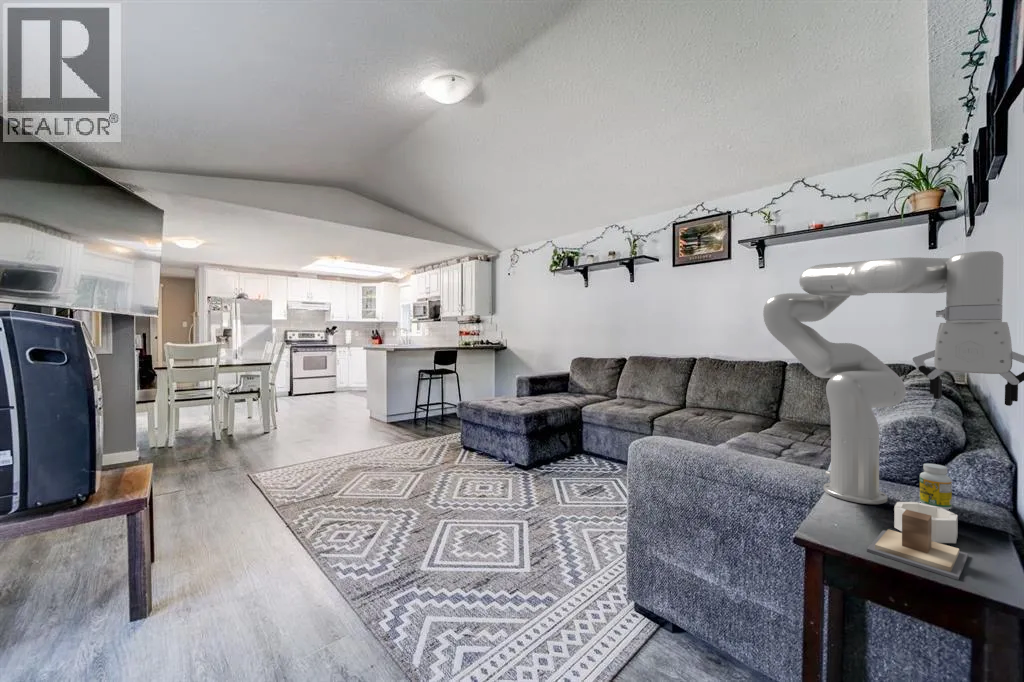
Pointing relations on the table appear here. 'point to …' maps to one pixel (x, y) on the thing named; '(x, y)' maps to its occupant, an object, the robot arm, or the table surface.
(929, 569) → the mat
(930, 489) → the supplement bottle
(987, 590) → the table surface
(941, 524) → the bowl
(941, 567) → the lid
